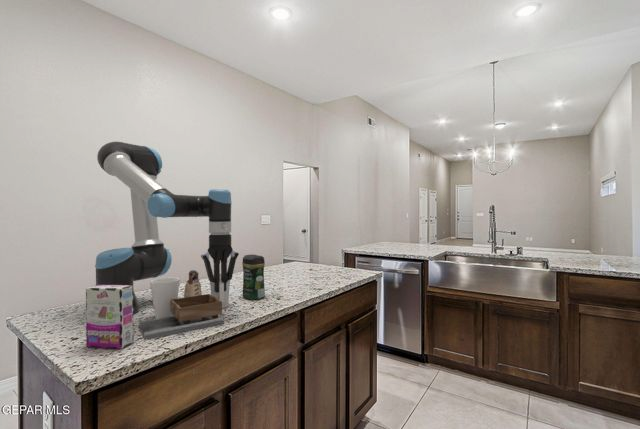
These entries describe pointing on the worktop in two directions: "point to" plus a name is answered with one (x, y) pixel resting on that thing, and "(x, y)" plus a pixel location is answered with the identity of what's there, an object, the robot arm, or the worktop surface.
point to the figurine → (192, 285)
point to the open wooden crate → (195, 307)
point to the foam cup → (164, 295)
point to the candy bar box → (109, 316)
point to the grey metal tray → (175, 326)
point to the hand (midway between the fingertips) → (220, 301)
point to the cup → (226, 293)
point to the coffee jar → (253, 277)
